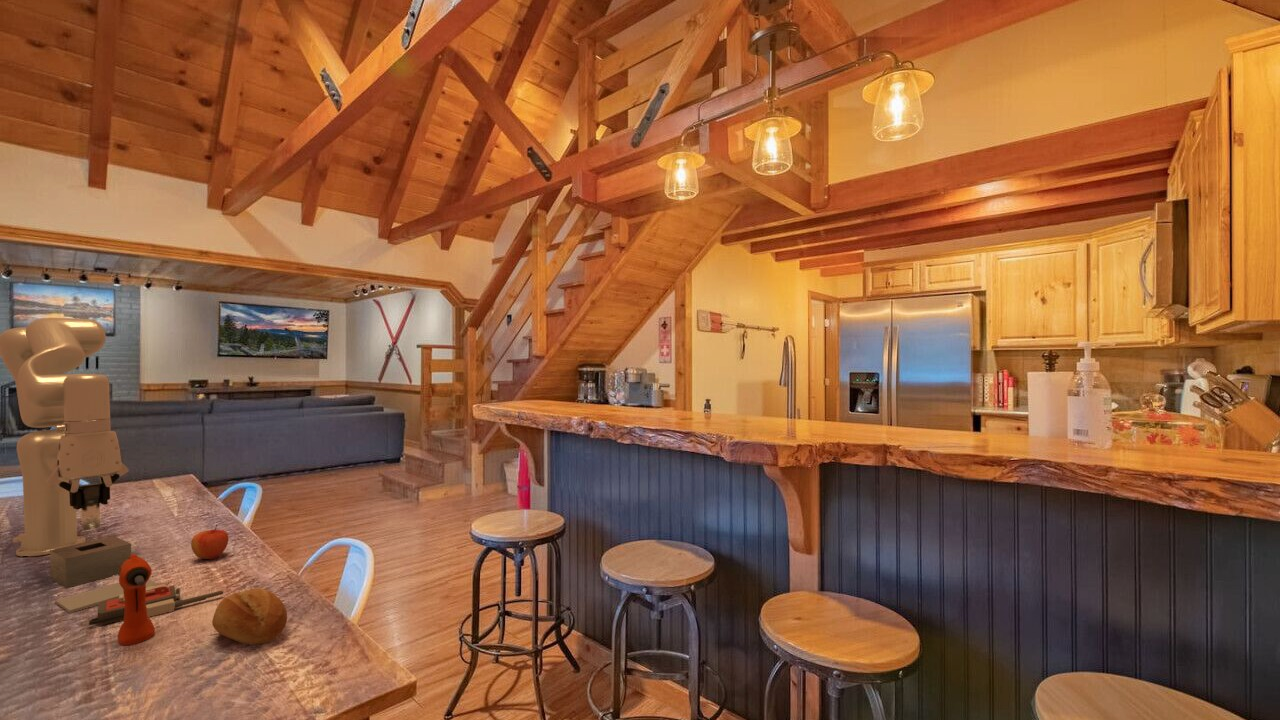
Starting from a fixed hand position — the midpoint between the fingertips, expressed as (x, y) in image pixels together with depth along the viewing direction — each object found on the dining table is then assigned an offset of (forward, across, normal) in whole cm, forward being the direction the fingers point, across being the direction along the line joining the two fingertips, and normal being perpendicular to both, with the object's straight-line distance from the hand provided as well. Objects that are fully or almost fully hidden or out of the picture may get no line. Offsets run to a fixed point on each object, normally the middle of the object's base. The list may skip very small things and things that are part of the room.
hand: (90, 505), depth 127 cm
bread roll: (+18, +4, -64) cm, 66 cm away
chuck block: (+16, 0, +1) cm, 16 cm away
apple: (+17, +18, -12) cm, 28 cm away
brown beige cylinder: (+5, 0, 0) cm, 5 cm away
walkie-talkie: (+17, +1, -35) cm, 39 cm away
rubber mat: (+17, -2, -18) cm, 24 cm away
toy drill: (+17, -7, -50) cm, 53 cm away
